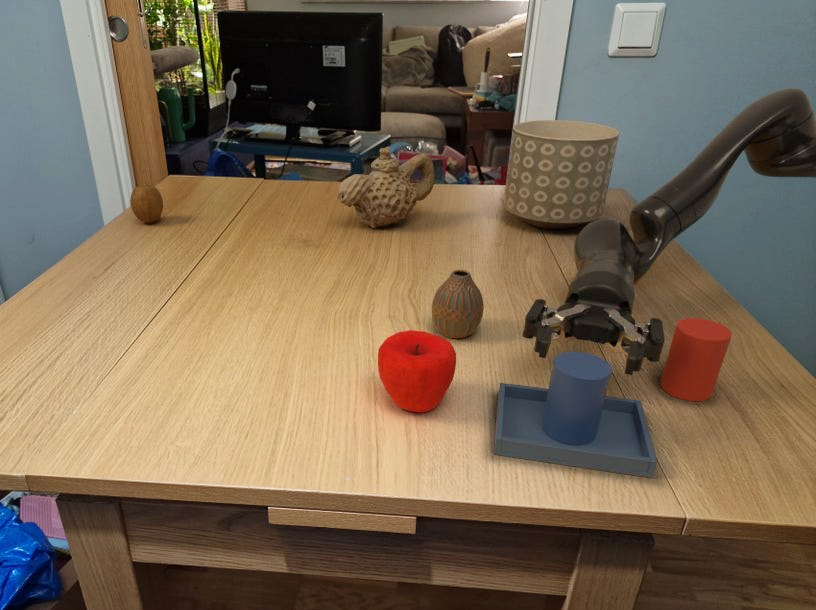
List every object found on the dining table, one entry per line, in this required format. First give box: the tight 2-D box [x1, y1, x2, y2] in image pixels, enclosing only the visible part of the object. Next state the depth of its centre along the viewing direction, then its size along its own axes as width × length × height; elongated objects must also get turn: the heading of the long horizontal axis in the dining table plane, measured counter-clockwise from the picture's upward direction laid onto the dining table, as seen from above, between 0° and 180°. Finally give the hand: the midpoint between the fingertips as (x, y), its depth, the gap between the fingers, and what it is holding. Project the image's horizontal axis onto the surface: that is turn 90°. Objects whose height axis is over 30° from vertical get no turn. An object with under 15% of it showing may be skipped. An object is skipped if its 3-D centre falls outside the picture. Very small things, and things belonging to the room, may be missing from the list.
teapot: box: [337, 146, 436, 229], centre depth 129 cm, size 21×12×15 cm, turn 118°
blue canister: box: [542, 351, 613, 445], centre depth 69 cm, size 6×6×8 cm
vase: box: [431, 269, 485, 339], centre depth 89 cm, size 7×7×9 cm
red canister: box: [659, 317, 733, 402], centre depth 77 cm, size 6×6×8 cm
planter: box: [503, 119, 620, 230], centre depth 129 cm, size 19×19×18 cm
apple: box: [377, 329, 457, 413], centre depth 74 cm, size 9×9×8 cm
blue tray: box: [493, 382, 658, 479], centre depth 70 cm, size 15×11×2 cm
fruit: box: [129, 182, 164, 225], centre depth 131 cm, size 6×6×8 cm
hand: (585, 358), depth 68 cm, fingers open, 8 cm apart
